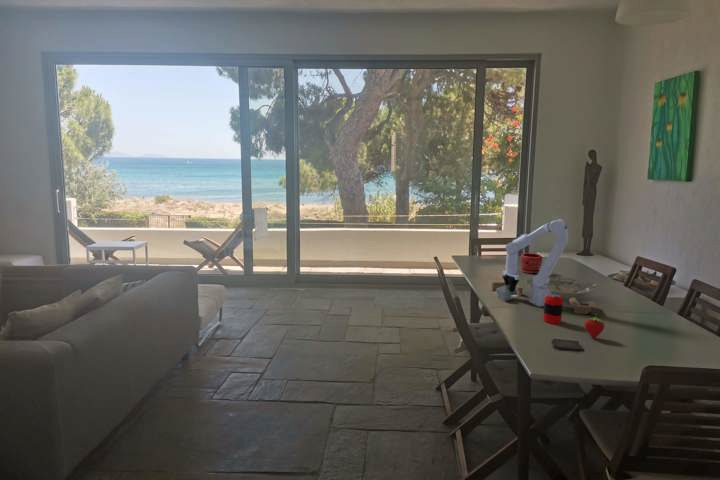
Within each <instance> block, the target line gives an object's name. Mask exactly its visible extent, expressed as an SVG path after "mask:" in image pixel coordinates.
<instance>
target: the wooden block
mask: <svg viewBox="0 0 720 480" xmlns="http://www.w3.org/2000/svg"><path fill="white" fill-rule="evenodd" d="M568 300H569V303H570V305H571V307H572V308H573V313H574V314H578V315H588V314H590V315H591V316H599V315H600V312H601V308H600V307H599V306H598V305H597V303H596V302H595V300H590V301H585V302H579V301H578V299H577V298H576V297H574V296H573V297H570V298H569V299H568Z"/></svg>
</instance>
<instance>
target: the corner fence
mask: <svg viewBox="0 0 720 480" xmlns="http://www.w3.org/2000/svg"><path fill="white" fill-rule="evenodd" d="M504 285H505V282H504V281H502V282H501V281H500V282H499V281H498V282H497V281H496V282H494V281H493V282H492V283H491V291H492V292H496V288H499V287H502V286H504ZM516 292H517V294H515V295H517V296H518V297H522V296H523V287H522V286H520V285H518V284H517V285H516Z"/></svg>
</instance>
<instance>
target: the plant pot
mask: <svg viewBox="0 0 720 480" xmlns="http://www.w3.org/2000/svg"><path fill="white" fill-rule="evenodd" d="M542 262H543V256H542V254H537V253H533V252H532V253H531V252H529V253H528V252H527V253H521V257H520V264H521V267H522V268H521V269H520V270H521V271H522V272H523V273H525V272H526V273H525V274H528V273H537V274H538V272H539V271H540V270H541V266H542Z"/></svg>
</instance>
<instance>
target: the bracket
mask: <svg viewBox="0 0 720 480" xmlns="http://www.w3.org/2000/svg"><path fill="white" fill-rule="evenodd" d="M495 292H497V293H496V296H497V298H498V299H500V300H501V301H503V302H507V301H510V300H512V299H513V297H511V296H512V295H516V294H517V292H516V288H515V291H510V284H507V285H504V286H502V287H499V288H496V291H495Z"/></svg>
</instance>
